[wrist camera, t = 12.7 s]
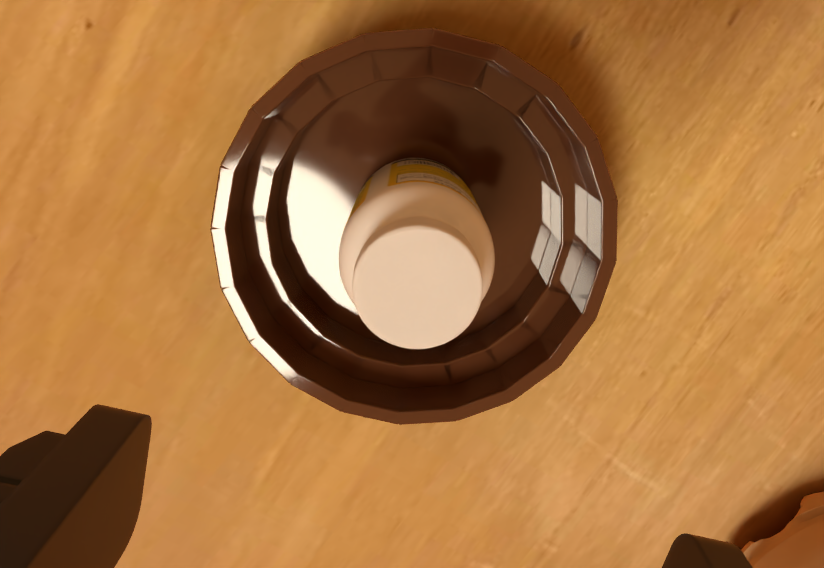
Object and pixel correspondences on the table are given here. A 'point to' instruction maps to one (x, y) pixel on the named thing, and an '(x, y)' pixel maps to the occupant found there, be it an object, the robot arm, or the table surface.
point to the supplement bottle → (416, 254)
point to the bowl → (350, 169)
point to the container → (793, 540)
